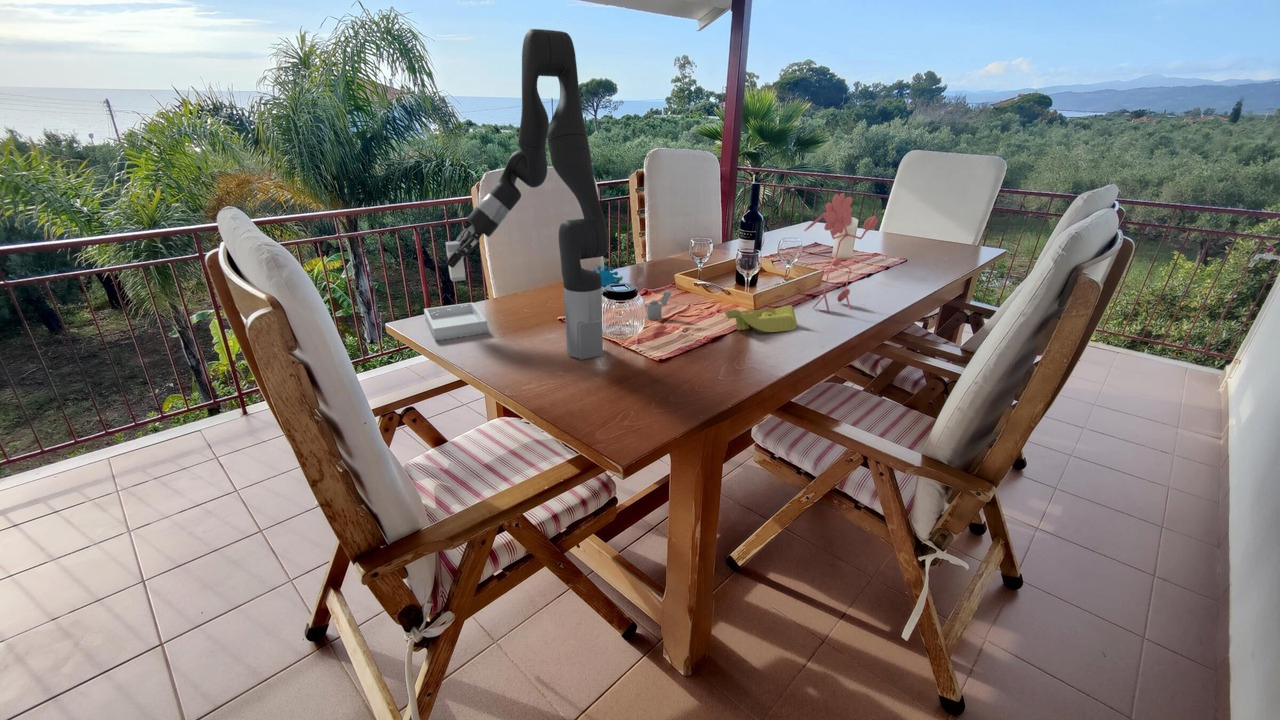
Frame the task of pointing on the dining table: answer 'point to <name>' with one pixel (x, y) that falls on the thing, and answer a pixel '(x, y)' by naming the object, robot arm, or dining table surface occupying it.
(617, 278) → the blue irregular piece
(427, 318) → the parts tray
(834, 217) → the pink flower stick figure
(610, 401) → the dining table surface
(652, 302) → the lighter
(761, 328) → the plastic component
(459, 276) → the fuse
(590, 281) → the robot arm
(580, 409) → the dining table surface
